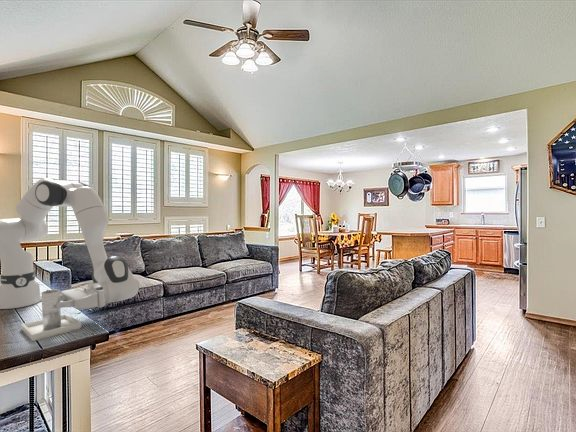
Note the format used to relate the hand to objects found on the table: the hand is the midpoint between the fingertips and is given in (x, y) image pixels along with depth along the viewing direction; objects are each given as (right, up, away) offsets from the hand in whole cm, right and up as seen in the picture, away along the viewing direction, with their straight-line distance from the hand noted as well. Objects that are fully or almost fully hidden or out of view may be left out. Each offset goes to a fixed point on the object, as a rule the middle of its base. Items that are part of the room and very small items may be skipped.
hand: (52, 303), depth 115 cm
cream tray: (-1, -9, +1) cm, 9 cm away
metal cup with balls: (0, -9, 0) cm, 9 cm away
